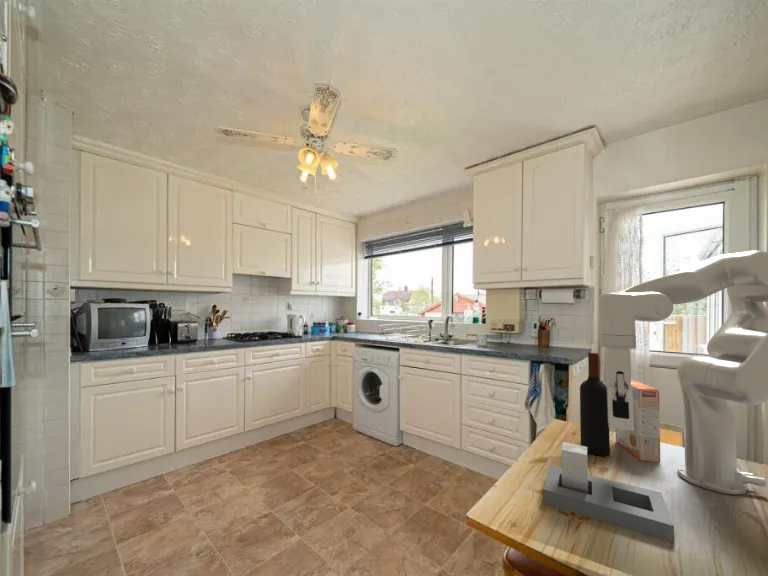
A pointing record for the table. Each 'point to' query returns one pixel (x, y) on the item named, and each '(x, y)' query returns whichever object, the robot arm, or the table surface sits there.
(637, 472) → the table surface
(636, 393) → the cracker box
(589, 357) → the wine bottle
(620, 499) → the tray
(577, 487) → the block
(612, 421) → the loose billet
